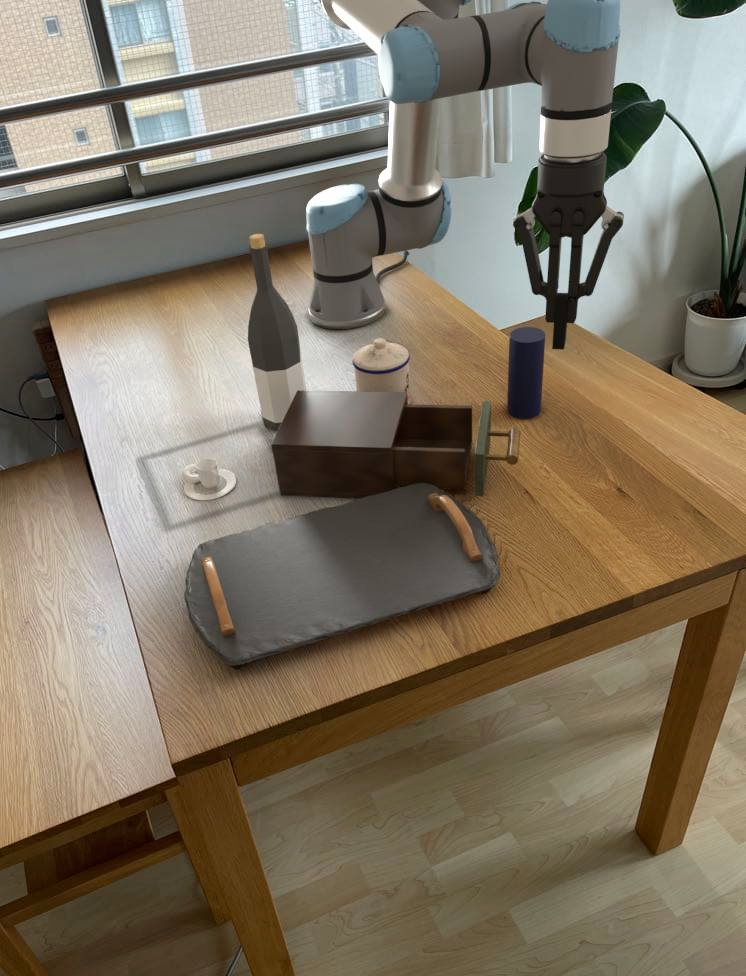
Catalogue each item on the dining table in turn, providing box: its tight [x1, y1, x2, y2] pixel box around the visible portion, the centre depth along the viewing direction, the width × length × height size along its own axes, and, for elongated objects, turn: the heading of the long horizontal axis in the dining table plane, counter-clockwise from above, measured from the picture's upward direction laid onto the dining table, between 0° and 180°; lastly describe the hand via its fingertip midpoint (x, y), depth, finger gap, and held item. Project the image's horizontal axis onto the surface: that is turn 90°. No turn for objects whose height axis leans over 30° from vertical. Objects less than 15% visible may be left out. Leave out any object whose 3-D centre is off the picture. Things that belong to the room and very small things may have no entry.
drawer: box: [392, 400, 521, 497], centre depth 116 cm, size 20×14×7 cm
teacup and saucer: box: [181, 457, 238, 501], centre depth 121 cm, size 9×8×4 cm
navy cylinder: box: [506, 326, 546, 420], centre depth 125 cm, size 5×5×13 cm
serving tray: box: [183, 482, 501, 671], centre depth 101 cm, size 39×23×6 cm, turn 108°
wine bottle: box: [247, 233, 307, 432], centre depth 125 cm, size 8×8×30 cm
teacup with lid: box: [351, 337, 411, 404], centre depth 132 cm, size 12×9×12 cm
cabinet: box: [270, 390, 408, 500], centre depth 119 cm, size 17×15×9 cm
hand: (559, 344), depth 107 cm, fingers closed
